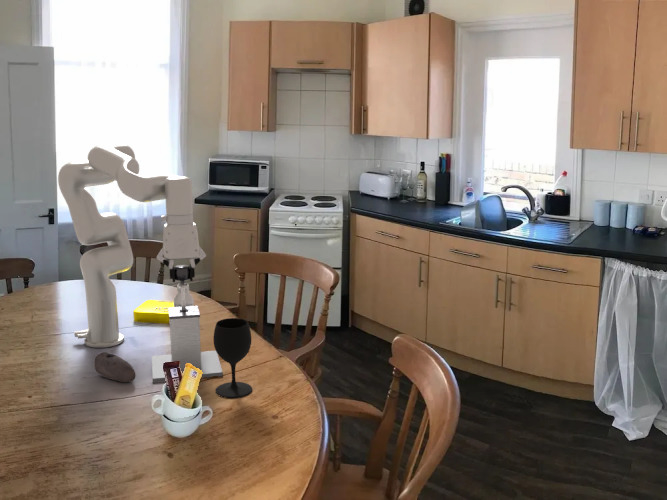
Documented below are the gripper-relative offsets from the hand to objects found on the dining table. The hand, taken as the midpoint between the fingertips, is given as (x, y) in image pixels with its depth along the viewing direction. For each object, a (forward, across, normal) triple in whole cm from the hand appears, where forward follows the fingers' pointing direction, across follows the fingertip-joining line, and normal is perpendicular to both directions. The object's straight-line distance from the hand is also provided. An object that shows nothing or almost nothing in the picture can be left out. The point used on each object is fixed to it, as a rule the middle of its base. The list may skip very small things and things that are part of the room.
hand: (182, 279), depth 216 cm
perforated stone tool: (+28, -20, -4) cm, 35 cm away
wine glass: (+28, +12, -20) cm, 36 cm away
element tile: (+28, -7, +51) cm, 59 cm away
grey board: (+28, 0, 0) cm, 28 cm away
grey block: (+26, 0, +1) cm, 26 cm away
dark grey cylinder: (+16, 0, 0) cm, 16 cm away
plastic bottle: (+28, +1, +21) cm, 35 cm away
